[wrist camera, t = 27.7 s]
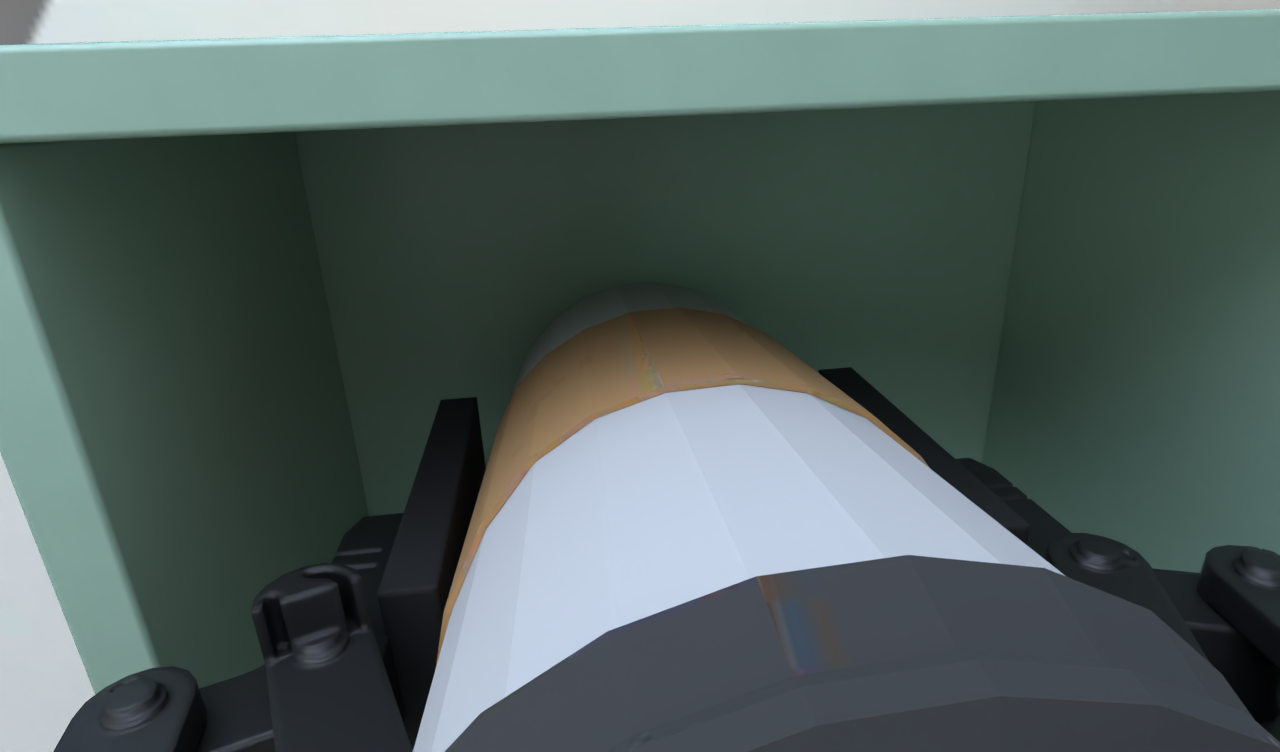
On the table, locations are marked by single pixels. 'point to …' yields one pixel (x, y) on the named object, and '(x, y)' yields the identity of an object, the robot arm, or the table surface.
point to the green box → (618, 270)
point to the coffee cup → (769, 575)
